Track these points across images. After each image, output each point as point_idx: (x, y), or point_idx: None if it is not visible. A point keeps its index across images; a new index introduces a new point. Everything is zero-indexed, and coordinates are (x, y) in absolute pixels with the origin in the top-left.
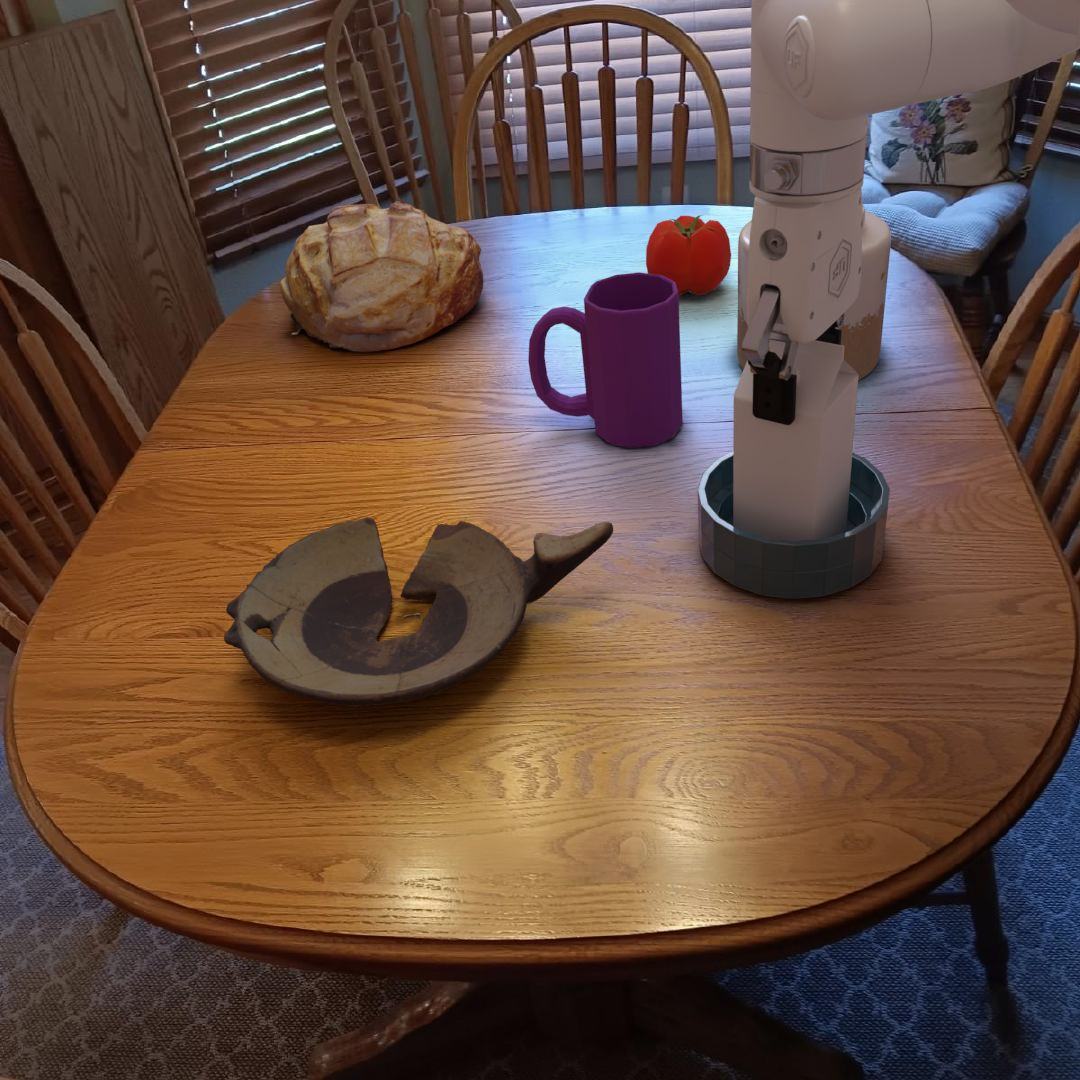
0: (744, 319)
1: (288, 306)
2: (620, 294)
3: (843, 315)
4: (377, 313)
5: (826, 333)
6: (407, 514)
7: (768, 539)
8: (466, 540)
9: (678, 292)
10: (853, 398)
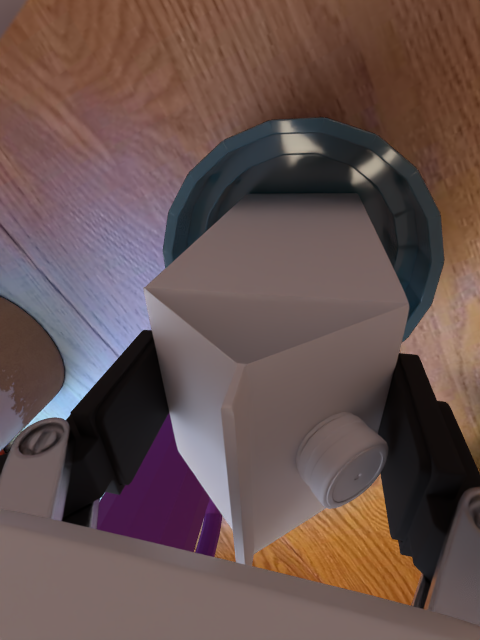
0: (20, 429)
1: None
2: None
3: (20, 442)
4: None
5: (109, 437)
6: (387, 527)
7: (435, 258)
8: None
9: None
10: (190, 266)
